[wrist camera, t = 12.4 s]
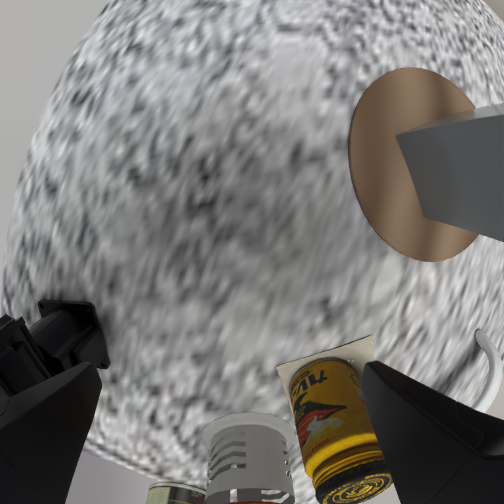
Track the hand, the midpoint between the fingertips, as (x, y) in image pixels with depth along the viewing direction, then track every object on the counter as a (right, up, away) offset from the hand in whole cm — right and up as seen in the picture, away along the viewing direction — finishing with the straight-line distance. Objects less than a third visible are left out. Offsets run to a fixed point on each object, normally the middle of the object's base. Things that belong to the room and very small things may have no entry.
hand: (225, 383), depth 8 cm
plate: (+15, +11, +10) cm, 22 cm away
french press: (0, -16, +17) cm, 23 cm away
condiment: (+8, -7, +15) cm, 18 cm away
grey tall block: (+15, +11, +9) cm, 21 cm away
